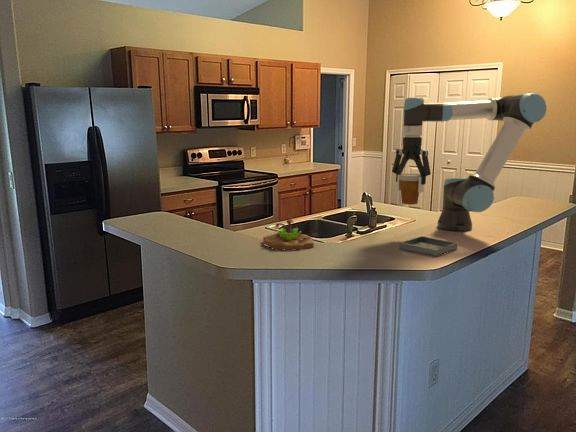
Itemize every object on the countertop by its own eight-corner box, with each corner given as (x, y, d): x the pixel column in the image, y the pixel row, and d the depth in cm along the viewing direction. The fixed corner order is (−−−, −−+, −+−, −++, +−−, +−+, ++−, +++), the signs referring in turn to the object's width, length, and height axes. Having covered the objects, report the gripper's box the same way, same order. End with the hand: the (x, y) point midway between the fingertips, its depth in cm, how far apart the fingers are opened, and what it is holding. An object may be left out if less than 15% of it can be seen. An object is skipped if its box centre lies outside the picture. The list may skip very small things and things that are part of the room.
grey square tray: (421, 241, 194) (421, 235, 194) (457, 249, 183) (457, 242, 182) (399, 248, 184) (399, 242, 183) (436, 257, 172) (436, 250, 172)
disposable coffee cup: (421, 201, 204) (422, 173, 202) (421, 205, 195) (422, 176, 193) (398, 201, 206) (399, 173, 204) (397, 204, 197) (398, 175, 195)
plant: (271, 253, 179) (271, 223, 177) (258, 240, 197) (258, 214, 195) (321, 249, 185) (321, 220, 183) (304, 237, 203) (305, 211, 201)
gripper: (384, 136, 201) (382, 189, 205) (432, 137, 185) (429, 195, 189) (394, 135, 206) (392, 187, 210) (442, 136, 190) (438, 192, 194)
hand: (410, 191), depth 200 cm, fingers closed on disposable coffee cup, 9 cm apart
